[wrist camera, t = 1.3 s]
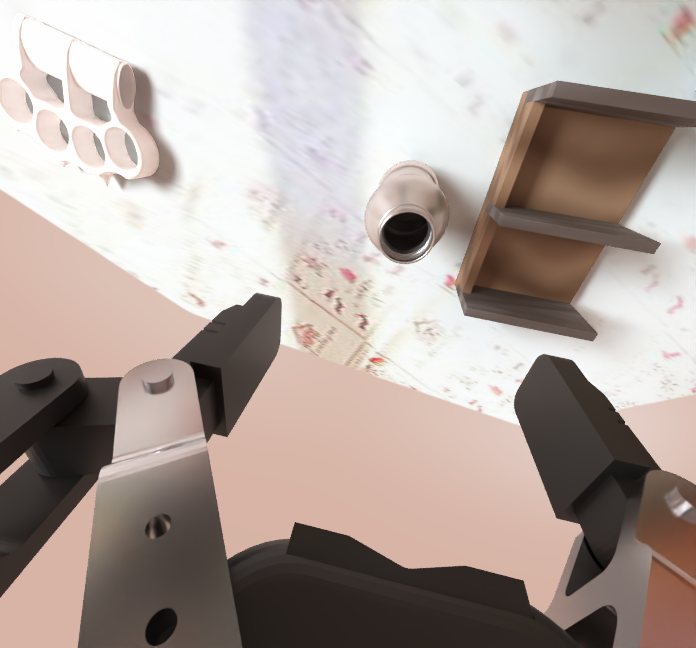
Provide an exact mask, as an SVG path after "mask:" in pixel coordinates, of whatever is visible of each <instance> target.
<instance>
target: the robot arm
mask: <svg viewBox="0 0 696 648" xmlns="http://www.w3.org/2000/svg"><path fill="white" fill-rule="evenodd" d="M281 309H282V303H281V299H280V298H278V297H274V296H269V295H264V294H259V293H256V294H254V295H253V296H252V297H251V298H250V299H249V300H248V301H247V302H246V303H245V305H244V306H241V305H235V306H233V307H230V308H228V309H226V310H223V311H222V312H221V313H220V314H218V315H217V316H216V317H215V318H214V319H213V320H212V323H211V322H210V323H209V324H208V325H207V326H206V327H205V328H204V330H201V331H200V332H199V334H197V335H196V336H195V337H194V338H193V339H192V340H191V341H190V342H189V343H188V344H187V345H186V346H185V347H183V348H182V349H181V350H180V351H179V352H178V353H177V354H176V355H175V356H174V357H173V358H172V359H158V360H153V361H149V362H146V363H143V364H141V365H139V366H137V367H135V368H133V369H132V370H130V371H129V372H128V373H127V374H126V375H125V376H124V377H118V378H117V377H116V378H84V375H83V373H82V370H81V368H80V366H79V365H78V364H77V363H76V362H74V361H72V360H69V359H63V358H49V359H42V360H36V361H33V362H29V363H25V364H23V365H20V366H17V367H15V368H13V369H11V370H9V371H7V372H5V373H4V374H2V375H0V474H1V473H2V472H3V471H4V470H5V469H7V468H8V467H9V466H10V465H11V464H12V463H13V462H14V461H15V460H17V459H18V458H19V457H20V456H21V455H22V454H23V453H26V455H27V456H28V458H29V460H28V461H27V462H26V463H24V464H23V465H22V466H21V467H20V468H19V469H18V470H17V471H16V472H15V473H14V474H12V475H11V476H10V477H9V478H8V479H7V480H6V481H5V482H4V483H3V484H1V486H0V597H1V596H2V595H3V594H4V593H5V591H6V590H7V589H8V588H9V587H10V585H11V584H12V583H13V582H14V580H15V579H16V578H17V577H18V576H19V574H20V573H21V572H22V571H23V569H24V568H25V567H26V566H27V565H28V564H29V562H30V561H31V560H32V559H33V557H34V556H35V555H36V554H37V553H38V551H39V550H40V549H41V548H42V547H43V545H44V544H45V543H46V542H47V541H48V539H49V538H50V537H51V536H52V534H53V533H54V532H55V531H56V530H57V529H58V527H59V526H60V525H61V524H62V522H63V521H64V520H65V519H66V518H67V516H68V515H69V514H70V513H71V512H72V510H73V509H74V508H75V507H76V506H77V504H78V503H79V502H80V501H81V500H82V498H83V497H84V496H85V495H86V493H87V492H88V491H89V490H90V489H91V487H92V486H93V485H94V484H95V483H96V481H97V480H98V484H97V492H96V500H95V508H94V517H93V526H92V534H91V542H90V550H89V559H88V567H87V575H86V584H85V592H84V600H83V609H82V617H81V625H80V634H79V642H78V648H696V485H695V484H693V483H692V482H690V481H688V480H686V479H684V478H682V477H680V476H678V475H676V474H673V473H670V472H667V471H663V470H661V469H660V467H659V466H658V465H657V464H656V463H655V461H654V460H653V458H652V457H651V455H650V454H649V453H648V452H647V450H646V449H645V448H644V446H643V445H642V444H641V442H640V441H639V440H638V438H637V437H636V436H635V434H634V433H633V432H632V430H631V429H630V428H629V427H628V426H627V425H625V421H624V420H623V419H622V417H621V416H620V415H619V413H618V412H615V410H616V409H615V408H614V407H613V405H612V404H611V403H610V401H609V400H608V399H607V397H606V396H605V395H604V394H603V393H602V392H601V391H599V390H598V389H597V388H596V387H595V386H593V385H592V384H591V383H590V382H589V381H588V380H587V379H586V378H585V376H584V375H583V373H582V372H581V371H580V369H579V368H578V367H577V365H576V364H575V363H574V362H573V361H572V360H569V359H565V358H560V357H555V356H550V355H546V354H543V355H540V356H539V357H538V358H537V359H536V360H535V362H534V364H533V365H532V367H531V369H530V370H529V372H528V374H527V375H526V377H525V379H524V380H523V382H522V384H521V385H520V387H519V389H518V390H517V393H516V395H515V400H514V408H515V412H516V415H517V418H518V420H519V423H520V425H521V428H522V430H523V433H524V435H525V438H526V441H527V443H528V446H529V448H530V451H531V454H532V456H533V459H534V461H535V464H536V466H537V469H538V471H539V474H540V476H541V479H542V482H543V484H544V487H545V490H546V492H547V495H548V497H549V500H550V502H551V505H552V508H553V510H554V513H555V515H556V518H558V519H562V520H566V521H570V522H574V523H578V524H580V525H581V528H582V530H583V532H581V533H580V534H579V535H578V536H577V537H576V538H575V540H574V543H573V546H572V549H571V551H570V554H569V557H568V560H567V563H566V565H565V568H564V571H563V574H562V576H561V579H560V582H559V585H558V588H557V590H556V593H555V596H554V598H553V601H552V603H551V605H550V606H549V608H548V609H547V611H546V612H545V613H544V614H543V613H542V612H540V611H539V610H537V609H536V608H534V607H533V606H531V605H530V604H529V600H528V596H527V592H526V589H525V584H524V581H523V580H519V579H515V578H511V577H507V576H503V575H499V574H495V573H491V572H488V571H484V570H480V569H476V568H472V567H468V566H454V567H436V568H419V569H408V568H404V567H402V566H400V565H398V564H397V563H395V562H393V561H392V560H390V559H388V558H386V557H385V556H383V555H381V554H379V553H377V552H376V551H374V550H372V549H371V548H369V547H367V546H366V545H364V544H362V543H360V542H359V541H357V540H355V539H353V538H352V537H350V536H347V535H343V534H339V533H335V532H332V531H328V530H324V529H320V528H316V527H312V526H308V525H304V524H300V523H296V522H295V524H294V527H293V531H292V534H291V537H290V539H282V540H275V541H269V542H265V543H262V544H259V545H256V546H253V547H250V548H248V549H246V550H244V551H242V552H240V553H238V554H236V555H234V556H233V557H231V558H229V559H228V560H227V557H226V552H225V545H224V540H223V534H222V528H221V523H220V517H219V511H218V506H217V500H216V495H215V489H214V483H213V477H212V472H211V466H210V460H209V454H208V449H207V442H208V441H209V439H210V437H211V436H212V434H217V435H221V436H225V437H227V436H228V435H229V433H230V432H231V430H232V428H233V427H234V425H235V423H236V422H237V420H238V418H239V417H240V415H241V413H242V412H243V410H244V408H245V407H246V405H247V403H248V402H249V400H250V398H251V397H252V395H253V393H254V392H255V390H256V388H257V387H258V385H259V383H260V382H261V380H262V378H263V377H264V375H265V373H266V372H267V370H268V368H269V367H270V365H271V363H272V361H273V360H274V358H275V356H276V354H277V352H278V349H279V345H280V336H281Z"/></svg>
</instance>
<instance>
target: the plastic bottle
mask: <svg viewBox="0 0 696 648" xmlns="http://www.w3.org/2000/svg"><path fill="white" fill-rule="evenodd" d="M448 220H449V206H448V202H447V199H446V197H445V195H444V193H443V192H442V190H441V189H440V188H439V184H438V180H437V177H436V175H435V173H434V172H433V171H432V169H431V168H430V167H428V166H427V165H426V164H423V163H421V162H418V161H404V162H400V163H398V164H396V165H394V166H393V167H391V168H390V169H389V170H388V171H387V172H386V173H385V174H384V176H383V177H382V179H381V181H380V183H379V187H378V189H377V190H376V191H375V192H374V194H373V195H372V196H371V198H370V200H369V202H368V204H367V207H366V211H365V221H364V222H365V228H366V231H367V234H368V237H369V238H370V240H371V242H372V243H373V244H374V245H375V246H376V247H377V248H378V249H379V250H380V251H381V252H382V253H383V254H384V255H385V256H386V257H387V258H388V259H390V260H391V261H393V262H396V263H400V264H410V263H414V262H417V261H419V260H421V259H422V258H424V257H425V256H426V255H427V254H428V253H429V252H430V250H431V249H432V247H433V246H435V244H436V243H437V242H438V241H439V240H440V239H441V237H442V236H443V234H444V232H445V230H446V227H447V225H448Z"/></svg>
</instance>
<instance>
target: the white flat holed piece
mask: <svg viewBox="0 0 696 648" xmlns="http://www.w3.org/2000/svg"><path fill="white" fill-rule="evenodd" d="M12 37H13V46H14V52H15V58H16V64H17V66H16V68H15V70H14V71H13V73H4V74H1V75H0V110H1V112H2V113H3V115H4V117H5V118H6V119H7V121H8V122H9V123H10V124H11V125H12V126H13V127H14V128H15V129H16V130H18V131H23V132H26V133H28V134H30V135H31V136H32V137H34V138H35V139H36V140H37V141H38V142H39V143H40V144H41V145H42V146H43V148H44V149H45V150H46V151H47V152H48V153H50V154H51V155H53V156H54V157H55V158H57V159H58V160H60V161H61V162H62V164H63V166H64V167H65V166H66V165H67V164H68V163H70V162H71V163H74V164H76V165H78V166H79V167H81V168H82V169H83V170H84V171H85V172H86V173H90V174H96V175H99V177H100V178H101V179H102V180H103V181H104V183H105V184H106V185H107V186H108V184H109V181H110V178H111V175H112V174H116V173H117V174H120V175H122V176H123V177H125V178H126V179H128V180H132V179H137V178H143V177H148V176H151V175H153V174H154V173H155V172H156V170H157V168H158V166H159V152H158V148H157V145H156V143H155V141H154V139H153V138H152V136H151V135H150V133H149V132H148V131H147V130H146V129H145V128H144V127H143V126H142V125H140V123H139V122H138V120H137V117H136V115H135V113H134V101H135V95H136V82H135V76H134V73H133V70H132V67H131V66H130V65H129V64H128V63H127V62H125V61H122V60H119V59H117V58H115V57H113V56H110V55H108V54H106V53H104V52H102V51H100V50H98V49H96V48H94V47H91V46H89V45H87V44H85V43H83V42H82V41H81V40H78V39H76V38H72V37H70V36H68V35H66V34H64V33H62V32H60V31H58V30H56V29H53V28H51V27H49V26H47V25H45V24H43V23H41V22H39V21H37V20H36V19H34V18H32V17H29V16H26V15H24V14H21V13H20V14H17V15H16V16H15V17H14V20H13V24H12ZM48 74H49V75H51V76H54V77H56V78H58V79H60V80H62V83H63V93H64V102H62V101H60V100H59V99H58V97H57V96H56V94H55V92H54V91H53V89H52V88H51V87H50V86H49V84H48V82H47V79H46V77H47V75H48ZM26 91H27V93H28V94H29V96H30V98H31V101H32V104H33V115H32V113H31V112H30V110H29V108H28V106H27V103H26ZM92 94H93V95H95V96H97V97H99V98H101V99H103V100H106V101H108V108H109V110H110V112H111V114H112V120H111V121H110V122H105V121H103V120H101V119H99V118H98V117H97V116H96V115H95V114H94V111H93V103H92ZM61 119H62V121H63V122H64V124H65V125H66V127H67V130H68V133H69V143H68V144H67V143H66V141H65V140H64V138H63V137H62V134H61V131H60V121H61ZM94 133H95V134H96V135H97V136H98V138H99V139H100V141H101V143H102V146H103V150H104V153H105V158H106V161H105V162H104V161H103V160H102V158H101V157H100V156H99V154H98V152H97V149H96V146H95V143H94ZM125 133H127V134H128V135H129V136H130V137H131V139H132V140H133V142H134V144H135V147H136V151H137V155H138V165H136V164H135V163H134V162H133V161H132V160H131V159H130V157H129V155H128V153H127V149H126V145H125V139H124V138H125Z"/></svg>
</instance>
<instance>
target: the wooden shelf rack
mask: <svg viewBox="0 0 696 648" xmlns="http://www.w3.org/2000/svg"><path fill="white" fill-rule="evenodd" d="M675 127H696V101H689V100H682V99H676V98H669V97H663V96H656V95H649V94H643V93H636V92H630V91H623V90H616V89H610V88H603V87H596V86H590V85H583V84H577V83H570V82H563V81H556V82H553V83H550V84H547V85H544V86H541V87H538V88H535V89H532V90H529V91H526V92H523V95H522V98H521V101H520V103H519V106H518V109H517V112H516V115H515V117H514V120H513V123H512V126H511V129H510V131H509V134H508V137H507V140H506V143H505V145H504V148H503V151H502V154H501V157H500V159H499V162H498V165H497V168H496V171H495V173H494V176H493V179H492V182H491V184H490V187H489V190H488V193H487V196H486V198H485V201H484V204H483V207H482V210H481V212H480V215H479V218H478V221H477V224H476V226H475V229H474V232H473V235H472V238H471V240H470V243H469V246H468V249H467V252H466V254H465V257H464V260H463V263H462V266H461V268H460V271H459V274H458V277H457V279H456V282H455V286H456V290H457V293H458V296H459V300H460V303H461V306H462V310H463V313H464V315H465V316H470V317H475V318H480V319H485V320H490V321H494V322H499V323H504V324H509V325H514V326H519V327H524V328H529V329H534V330H539V331H544V332H549V333H554V334H559V335H564V336H569V337H574V338H579V339H584V340H589V341H593V340H594V339H595V337H596V336H597V335H598V333H597V332H596V331H595V330H594V329H593V328H592V327H591V326H590V325H589V324H588V323H587V322H586V320H585V319H584V318H583V317H582V316H581V315H580V314H579V313H578V312H577V311H576V310H575V309H574V308H573V307H572V305H571V304H570V302H571V301H572V299H573V297H574V296H575V294H576V292H577V291H578V289H579V287H580V286H581V284H582V282H583V281H584V279H585V277H586V276H587V274H588V272H589V271H590V269H591V267H592V266H593V264H594V262H595V261H596V259H597V257H598V256H599V254H600V252H601V251H602V249H603V247H604V246H605V245H607V246H612V247H618V248H623V249H629V250H634V251H640V252H645V253H651V254H654V253H655V252H656V250H657V249H658V247H659V246H660V244H661V243H659V242H657V241H655V240H652V239H650V238H648V237H646V236H643V235H641V234H639V233H637V232H634V231H632V230H630V229H628V228H625V227H623V226H621V225H619V224H618V222H619V221H620V219H621V217H622V216H623V214H624V212H625V211H626V209H627V207H628V206H629V204H630V202H631V201H632V199H633V197H634V196H635V194H636V192H637V191H638V189H639V187H640V186H641V184H642V182H643V181H644V179H645V177H646V176H647V174H648V172H649V171H650V169H651V167H652V166H653V164H654V162H655V161H656V159H657V157H658V156H659V154H660V152H661V151H662V149H663V147H664V146H665V144H666V142H667V141H668V139H669V137H670V136H671V134H672V132H673V131H674V129H675Z"/></svg>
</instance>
